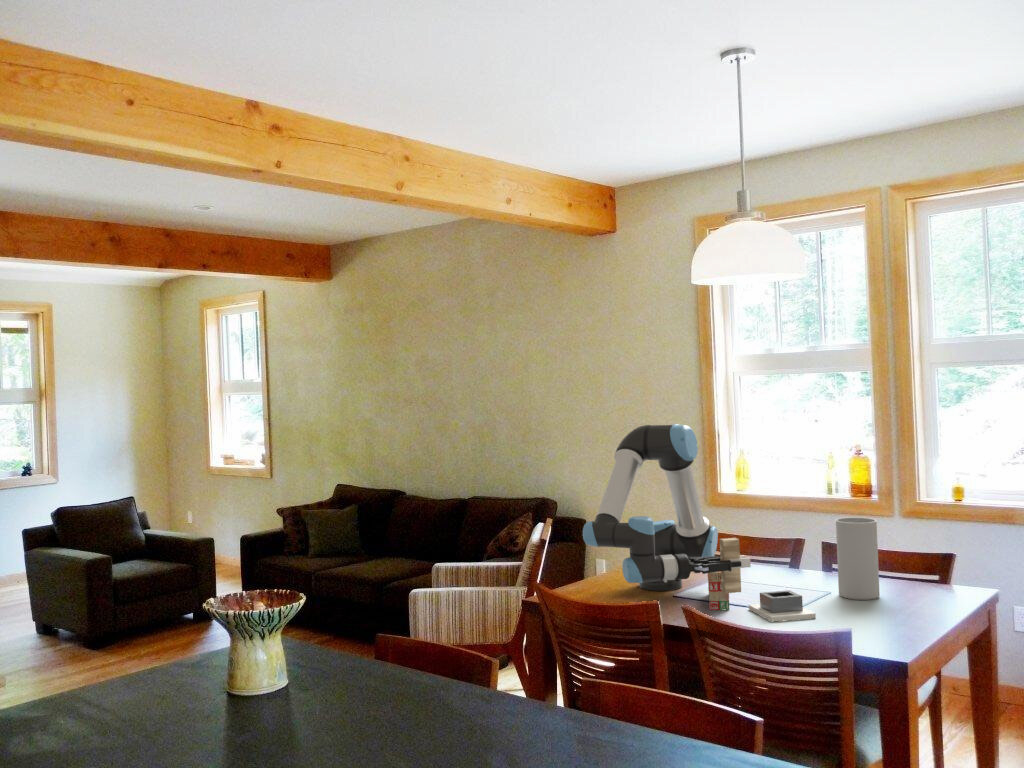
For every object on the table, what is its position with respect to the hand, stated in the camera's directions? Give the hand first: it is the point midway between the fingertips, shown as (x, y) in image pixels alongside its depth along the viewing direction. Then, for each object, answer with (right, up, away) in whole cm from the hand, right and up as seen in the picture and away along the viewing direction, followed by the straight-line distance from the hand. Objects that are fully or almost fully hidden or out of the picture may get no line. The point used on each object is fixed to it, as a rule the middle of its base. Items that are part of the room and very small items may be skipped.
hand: (747, 561), depth 270 cm
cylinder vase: (+42, -16, +20) cm, 49 cm away
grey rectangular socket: (+11, -15, +2) cm, 19 cm away
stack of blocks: (-4, -18, +19) cm, 27 cm away
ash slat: (-5, -9, -1) cm, 10 cm away
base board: (+11, -17, +2) cm, 20 cm away
